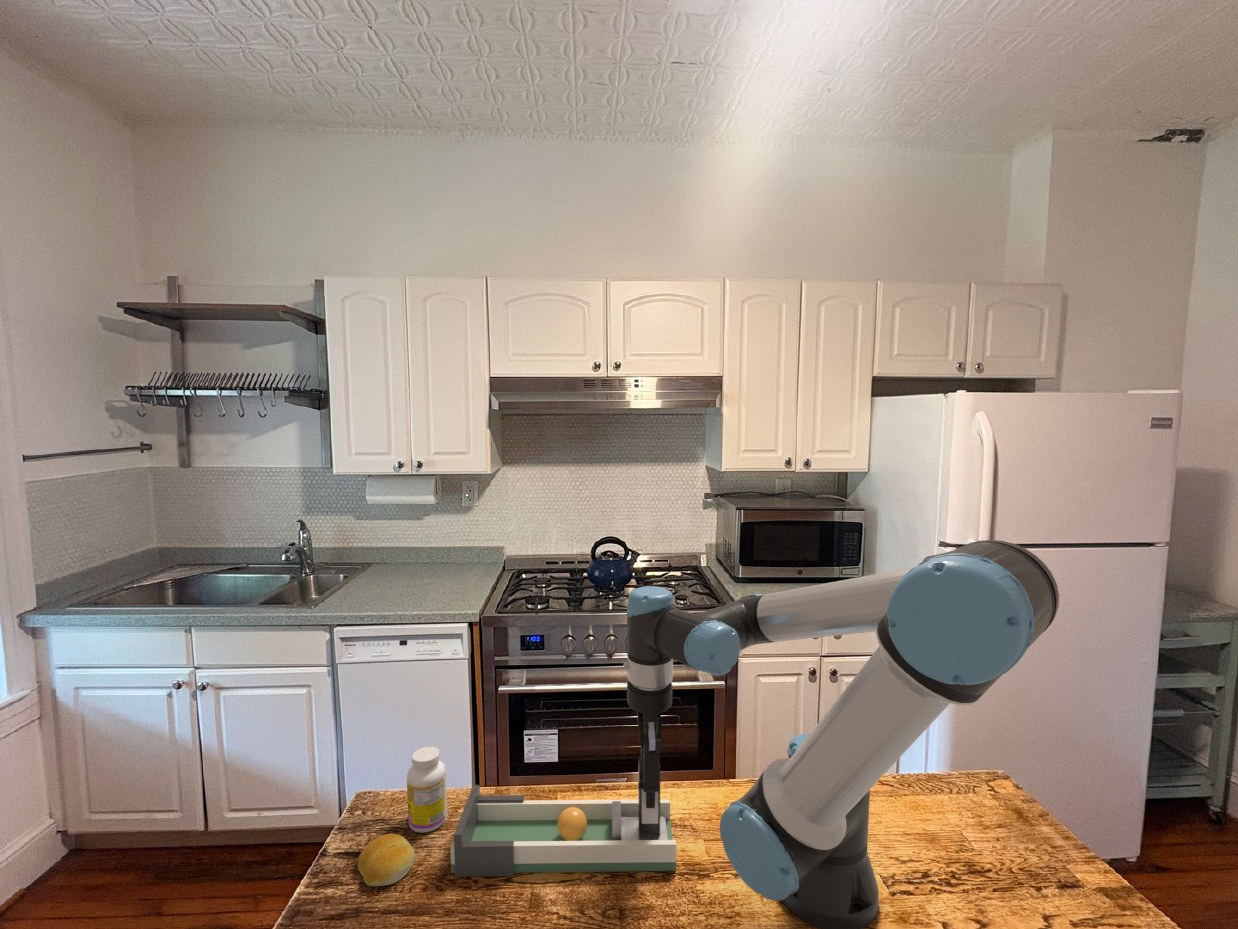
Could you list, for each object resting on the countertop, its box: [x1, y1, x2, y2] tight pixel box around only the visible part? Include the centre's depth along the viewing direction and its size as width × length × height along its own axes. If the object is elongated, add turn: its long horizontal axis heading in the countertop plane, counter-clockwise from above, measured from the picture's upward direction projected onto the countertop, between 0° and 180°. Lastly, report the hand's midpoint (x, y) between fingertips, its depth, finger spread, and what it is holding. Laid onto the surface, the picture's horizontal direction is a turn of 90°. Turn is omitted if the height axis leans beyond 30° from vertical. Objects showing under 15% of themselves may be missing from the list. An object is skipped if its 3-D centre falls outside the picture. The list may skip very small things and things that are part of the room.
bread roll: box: [357, 833, 416, 887], centre depth 94 cm, size 8×9×4 cm
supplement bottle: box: [406, 746, 448, 834], centre depth 104 cm, size 7×7×13 cm
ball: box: [557, 807, 587, 841], centre depth 98 cm, size 5×5×5 cm
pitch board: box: [450, 798, 677, 874], centre depth 98 cm, size 36×11×4 cm, turn 91°
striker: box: [612, 758, 668, 841], centre depth 98 cm, size 9×8×13 cm
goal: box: [453, 784, 526, 878], centre depth 98 cm, size 9×12×7 cm
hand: (649, 815), depth 98 cm, fingers closed on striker, 2 cm apart
